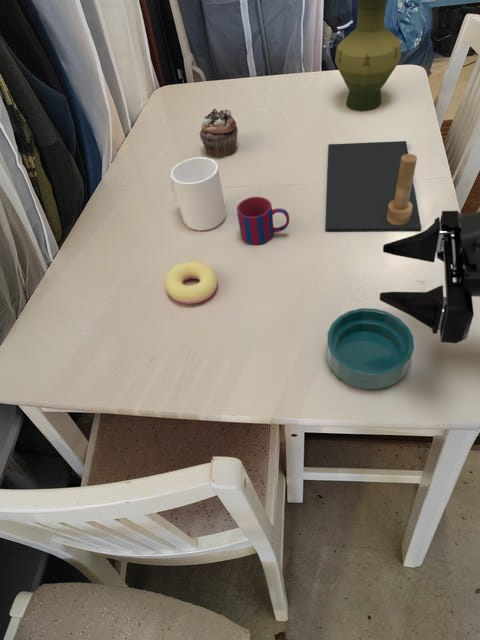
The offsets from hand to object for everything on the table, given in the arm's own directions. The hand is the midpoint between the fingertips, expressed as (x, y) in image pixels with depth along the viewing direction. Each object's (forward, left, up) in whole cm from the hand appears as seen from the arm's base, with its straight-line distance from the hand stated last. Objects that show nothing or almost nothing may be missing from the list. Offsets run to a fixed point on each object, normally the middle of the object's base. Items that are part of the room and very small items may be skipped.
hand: (381, 271), depth 59 cm
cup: (+20, -26, -15) cm, 36 cm away
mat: (-1, -43, -15) cm, 45 cm away
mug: (+35, -32, -15) cm, 49 cm away
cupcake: (+35, -60, -15) cm, 70 cm away
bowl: (+1, +3, -15) cm, 15 cm away
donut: (+32, -11, -15) cm, 37 cm away
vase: (-1, -81, -15) cm, 82 cm away
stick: (-6, -30, -14) cm, 33 cm away
